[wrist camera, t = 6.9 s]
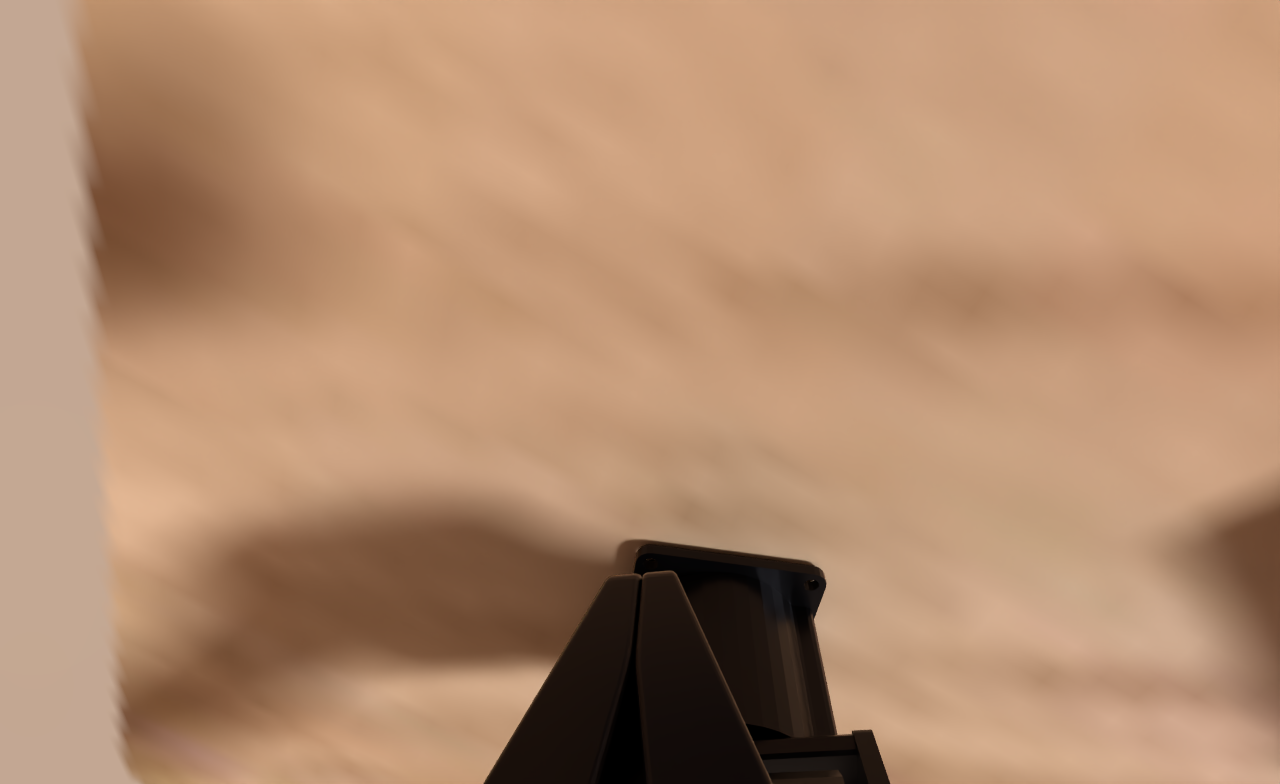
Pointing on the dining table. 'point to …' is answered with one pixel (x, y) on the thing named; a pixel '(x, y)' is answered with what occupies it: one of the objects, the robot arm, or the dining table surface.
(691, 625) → the robot arm
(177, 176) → the dining table surface
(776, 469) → the dining table surface
